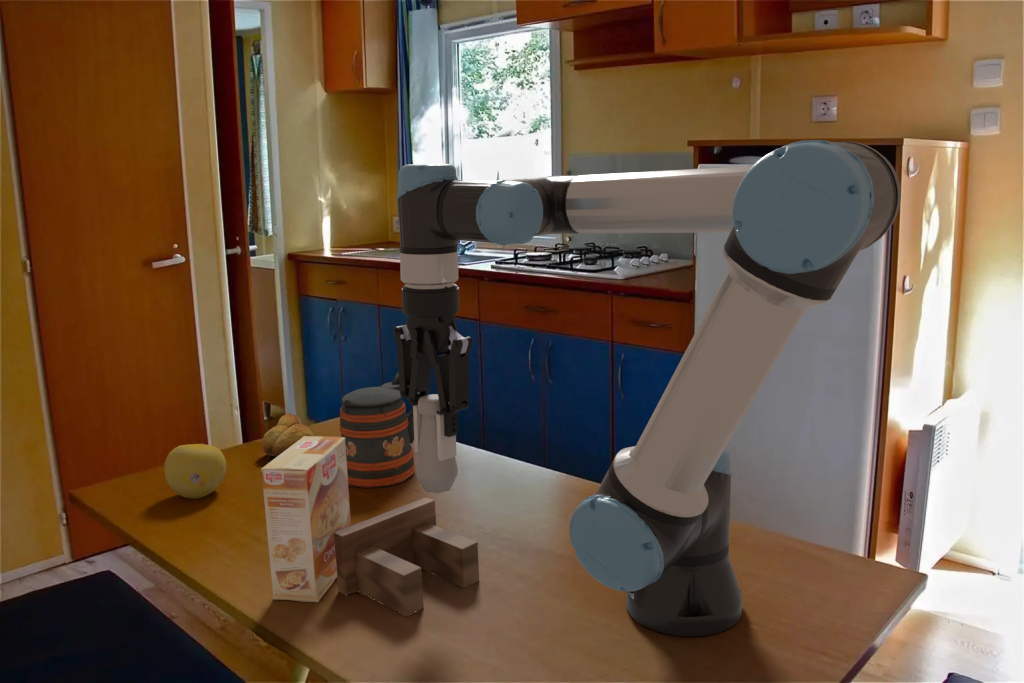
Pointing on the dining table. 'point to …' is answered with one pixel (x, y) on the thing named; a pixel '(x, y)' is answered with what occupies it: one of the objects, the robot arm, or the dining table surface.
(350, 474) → the beer stein
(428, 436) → the salt shaker
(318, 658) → the dining table surface
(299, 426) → the bread roll
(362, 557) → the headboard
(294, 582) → the coffeecake box
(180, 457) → the fruit
